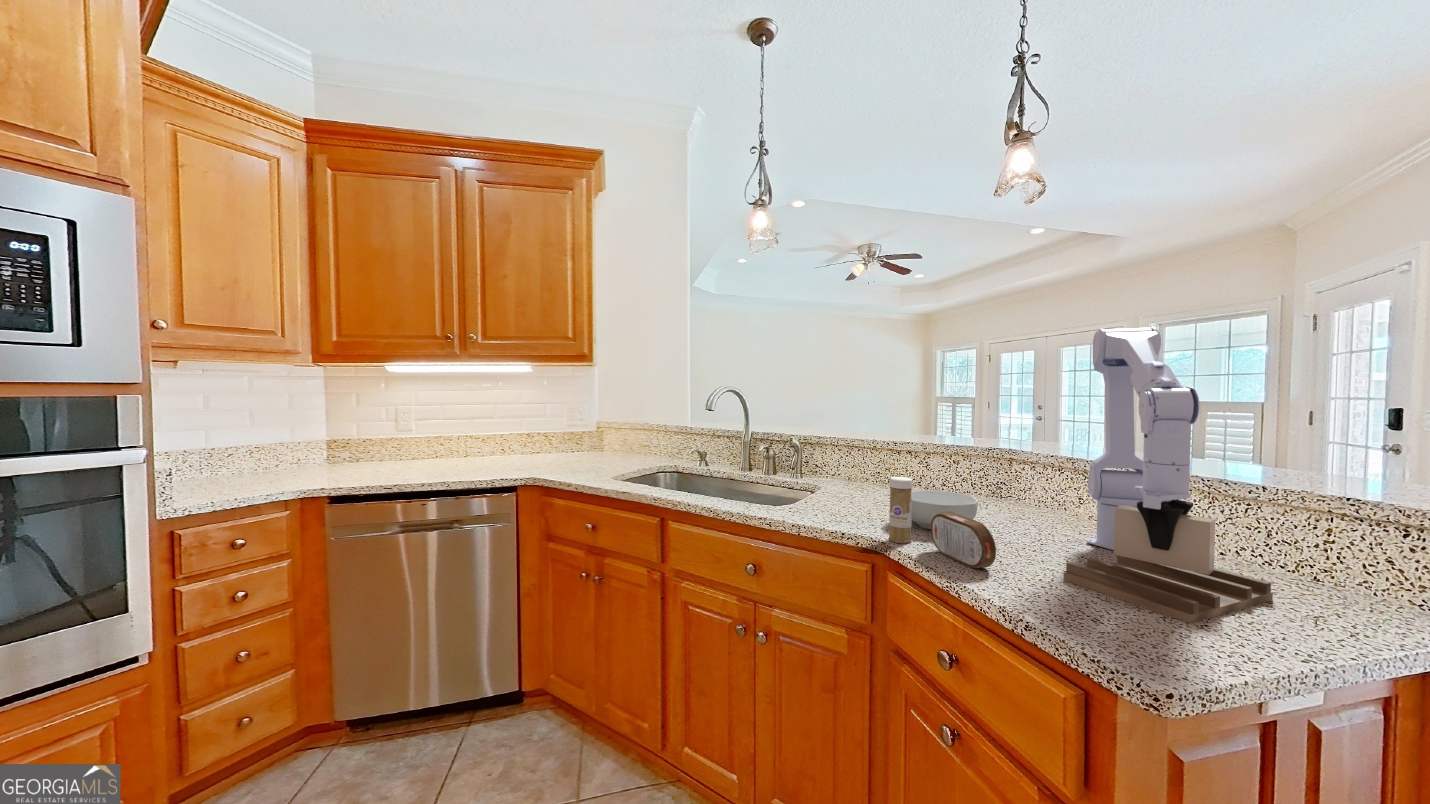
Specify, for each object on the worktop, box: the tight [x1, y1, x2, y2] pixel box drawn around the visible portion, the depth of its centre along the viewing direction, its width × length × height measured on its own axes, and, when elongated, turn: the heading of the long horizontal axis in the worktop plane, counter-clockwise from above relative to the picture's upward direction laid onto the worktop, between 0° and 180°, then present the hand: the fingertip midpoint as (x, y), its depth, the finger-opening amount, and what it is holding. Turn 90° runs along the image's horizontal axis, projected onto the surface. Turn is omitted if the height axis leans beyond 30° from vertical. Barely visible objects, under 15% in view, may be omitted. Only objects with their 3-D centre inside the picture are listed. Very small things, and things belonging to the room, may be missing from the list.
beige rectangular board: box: [1113, 505, 1216, 575], centre depth 86 cm, size 3×12×8 cm, turn 37°
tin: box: [930, 512, 997, 569], centre depth 100 cm, size 15×3×8 cm, turn 14°
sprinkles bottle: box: [888, 476, 913, 545], centre depth 112 cm, size 5×5×14 cm
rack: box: [1063, 555, 1274, 625], centre depth 86 cm, size 21×18×3 cm
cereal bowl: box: [911, 489, 979, 530], centre depth 124 cm, size 17×17×7 cm
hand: (1163, 546), depth 86 cm, fingers closed on beige rectangular board, 3 cm apart
